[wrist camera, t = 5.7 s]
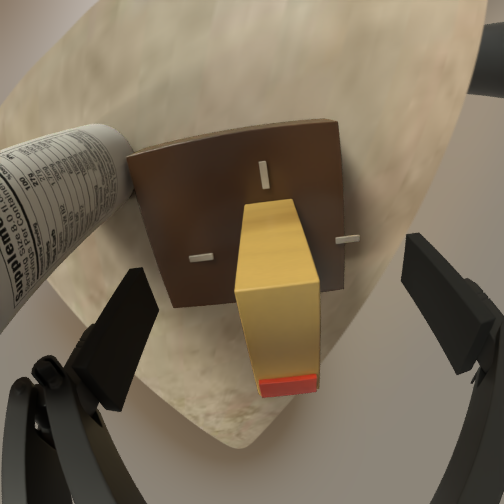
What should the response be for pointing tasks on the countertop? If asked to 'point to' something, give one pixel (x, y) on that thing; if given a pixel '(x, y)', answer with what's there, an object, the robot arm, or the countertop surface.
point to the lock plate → (238, 201)
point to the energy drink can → (55, 203)
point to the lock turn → (279, 300)
